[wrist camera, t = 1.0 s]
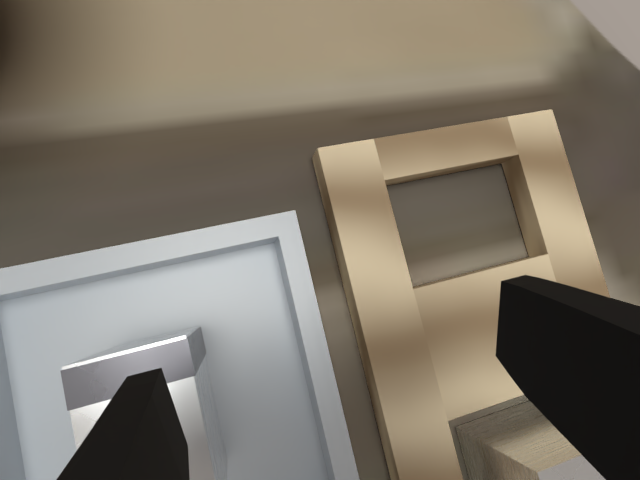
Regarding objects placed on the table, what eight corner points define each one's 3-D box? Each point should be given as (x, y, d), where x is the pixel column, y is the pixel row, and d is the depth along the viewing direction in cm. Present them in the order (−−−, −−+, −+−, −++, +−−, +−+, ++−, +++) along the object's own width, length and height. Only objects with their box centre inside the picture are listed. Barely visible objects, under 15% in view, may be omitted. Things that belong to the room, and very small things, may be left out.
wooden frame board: (647, 495, 23) (674, 507, 22) (420, 597, 20) (434, 621, 18) (533, 120, 25) (552, 109, 24) (311, 158, 22) (317, 148, 21)
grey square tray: (355, 504, 20) (372, 532, 17) (27, 628, 17) (-8, 684, 14) (288, 220, 21) (295, 210, 19) (-27, 285, 18) (-67, 282, 16)
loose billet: (200, 324, 19) (186, 335, 13) (228, 457, 19) (226, 529, 13) (114, 346, 18) (59, 367, 12) (141, 486, 18) (97, 576, 12)
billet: (571, 460, 22) (690, 516, 17) (474, 499, 21) (566, 574, 15) (551, 391, 23) (660, 422, 17) (454, 425, 22) (537, 471, 16)
